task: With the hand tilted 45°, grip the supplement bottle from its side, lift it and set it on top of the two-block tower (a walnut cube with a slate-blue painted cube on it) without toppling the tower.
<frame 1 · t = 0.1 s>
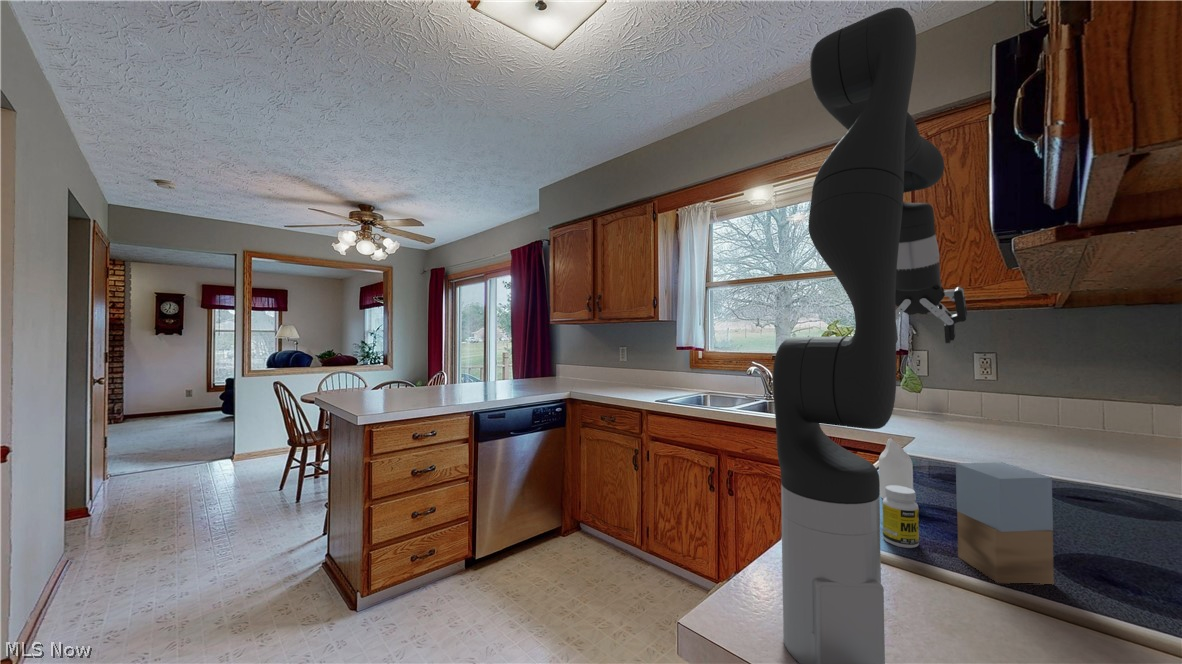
hand: (920, 341, 88), 31 cm above the countertop, tool tilted 20°, fingers open, 8 cm apart
white bottle: (895, 499, 90), on the countertop
walnut block: (1003, 569, 63), on the countertop, touching slate block
supplement bottle: (900, 543, 71), on the countertop
slate block: (1002, 520, 63), point 7 cm above the countertop, touching walnut block
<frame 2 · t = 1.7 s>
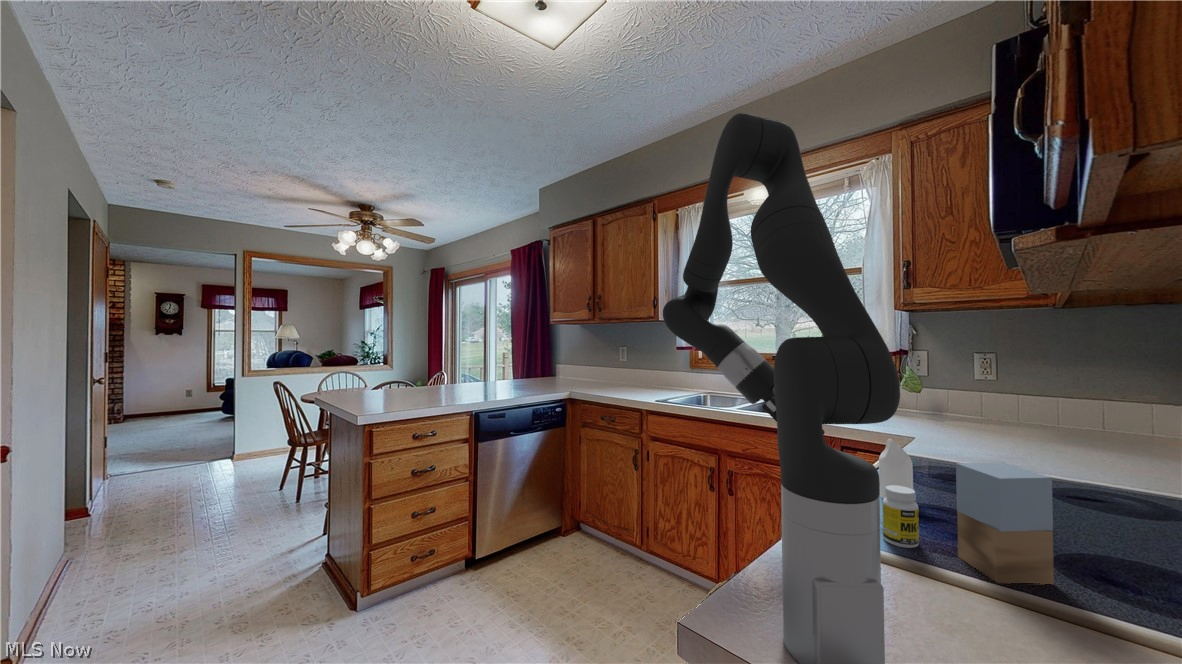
hand: (819, 441, 77), 15 cm above the countertop, tool tilted 45°, fingers open, 8 cm apart
nothing on the countertop moved.
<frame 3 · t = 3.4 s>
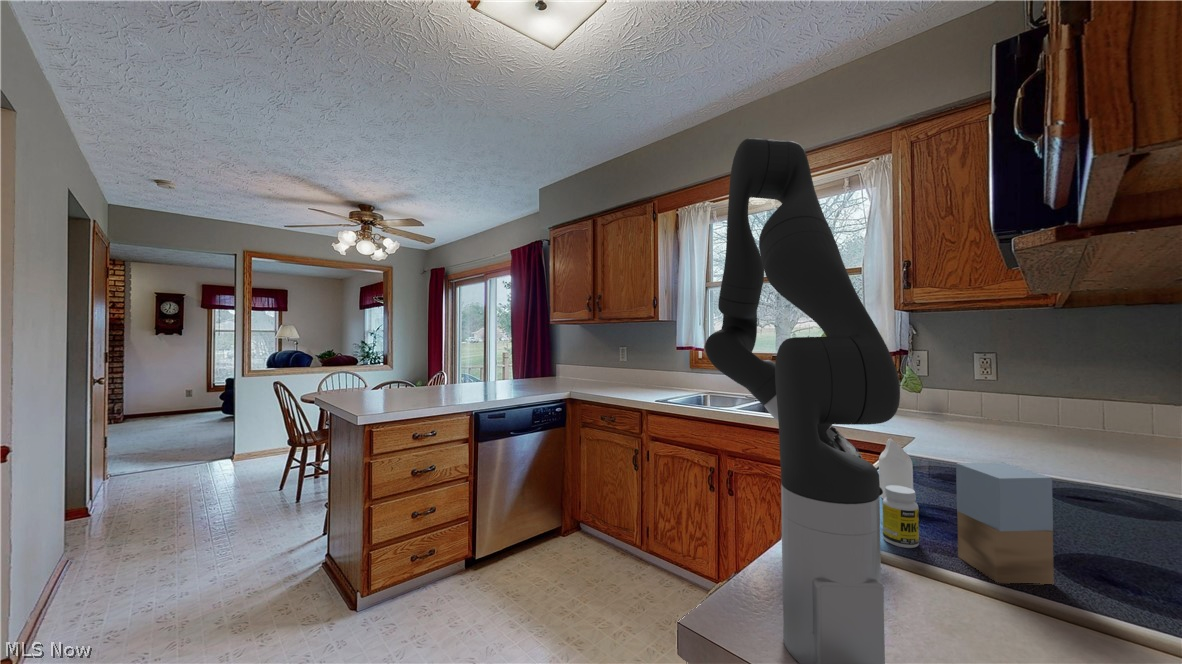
hand: (876, 487, 73), 8 cm above the countertop, tool tilted 45°, fingers open, 8 cm apart
nothing on the countertop moved.
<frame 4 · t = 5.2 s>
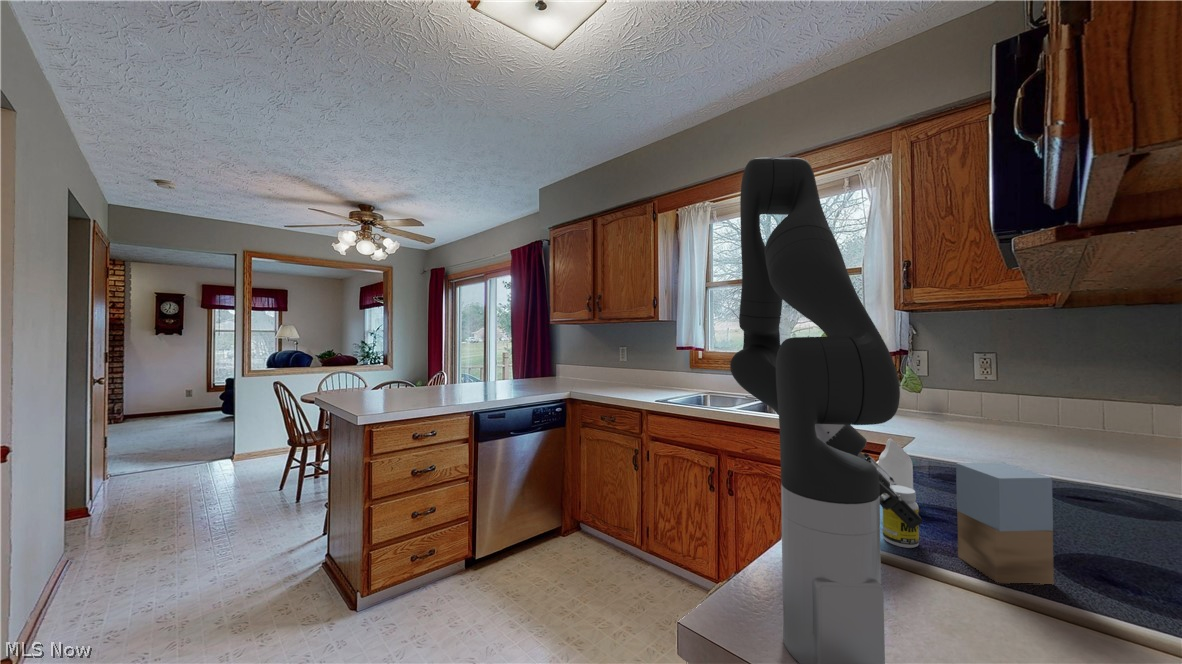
hand: (914, 517, 71), 4 cm above the countertop, tool tilted 45°, fingers closed on supplement bottle, 4 cm apart
supplement bottle: (900, 542, 71), on the countertop, touching gripper
everything else where it was.
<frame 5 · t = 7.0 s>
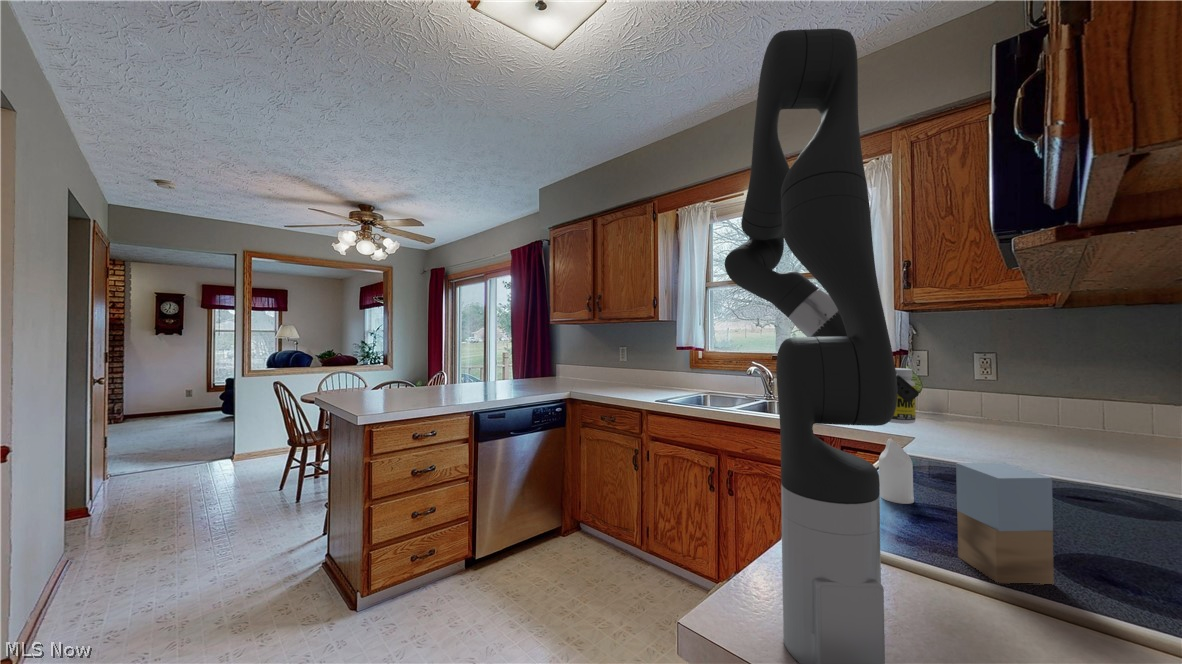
hand: (911, 395, 71), 23 cm above the countertop, tool tilted 45°, fingers closed on supplement bottle, 4 cm apart
supplement bottle: (897, 422, 71), point 19 cm above the countertop, touching gripper
everything else where it was.
when the fingers open (19 cm above the countertop, at t = 9.3 s): supplement bottle drops 1 cm, resting on slate block.
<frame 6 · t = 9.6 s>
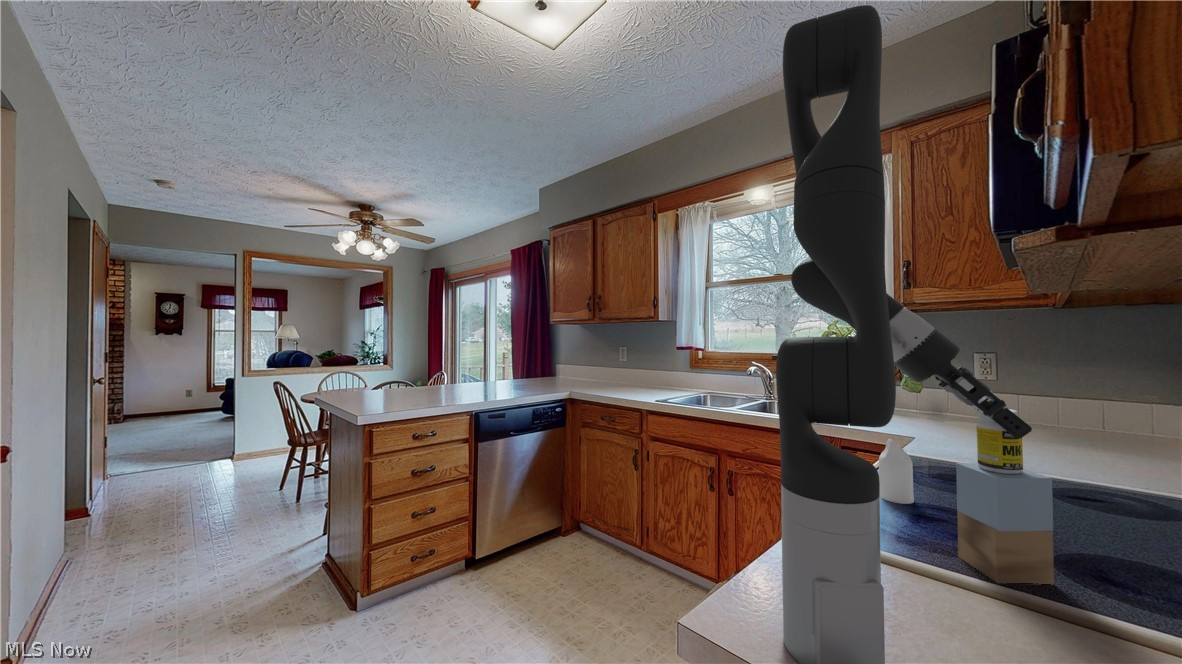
hand: (1015, 428, 62), 20 cm above the countertop, tool tilted 45°, fingers open, 6 cm apart
supplement bottle: (1000, 471, 63), point 14 cm above the countertop, touching slate block
slate block: (1002, 520, 63), point 7 cm above the countertop, touching supplement bottle, walnut block
everything else where it was.
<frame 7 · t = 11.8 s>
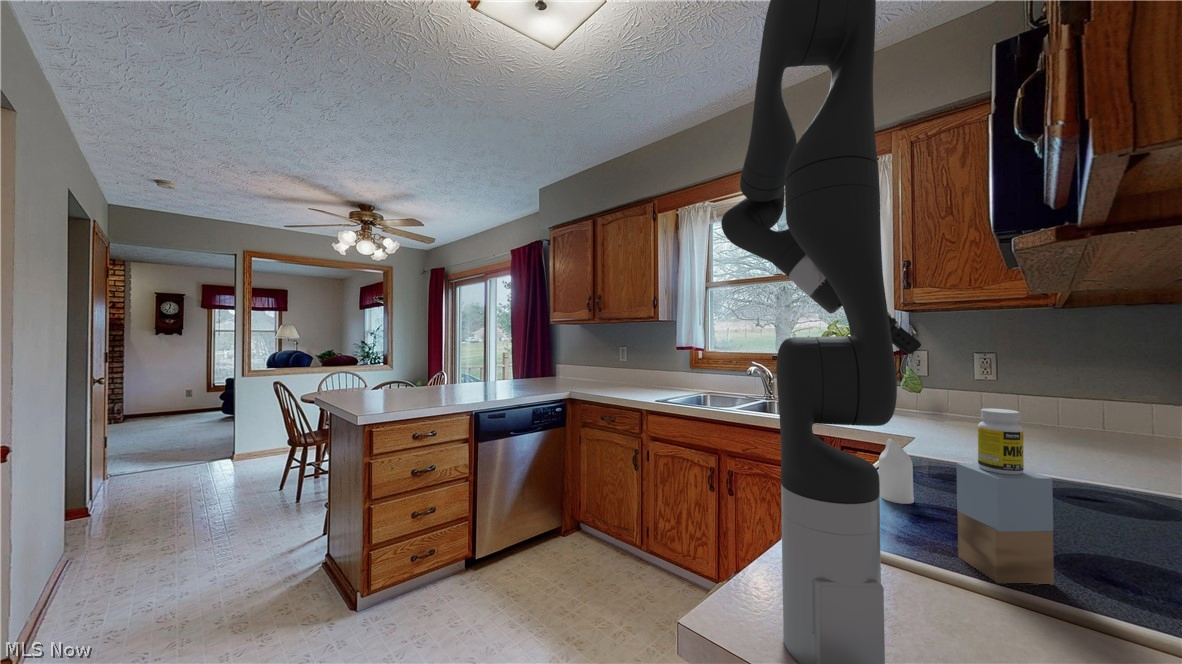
hand: (912, 348, 68), 31 cm above the countertop, tool tilted 45°, fingers open, 8 cm apart
nothing on the countertop moved.
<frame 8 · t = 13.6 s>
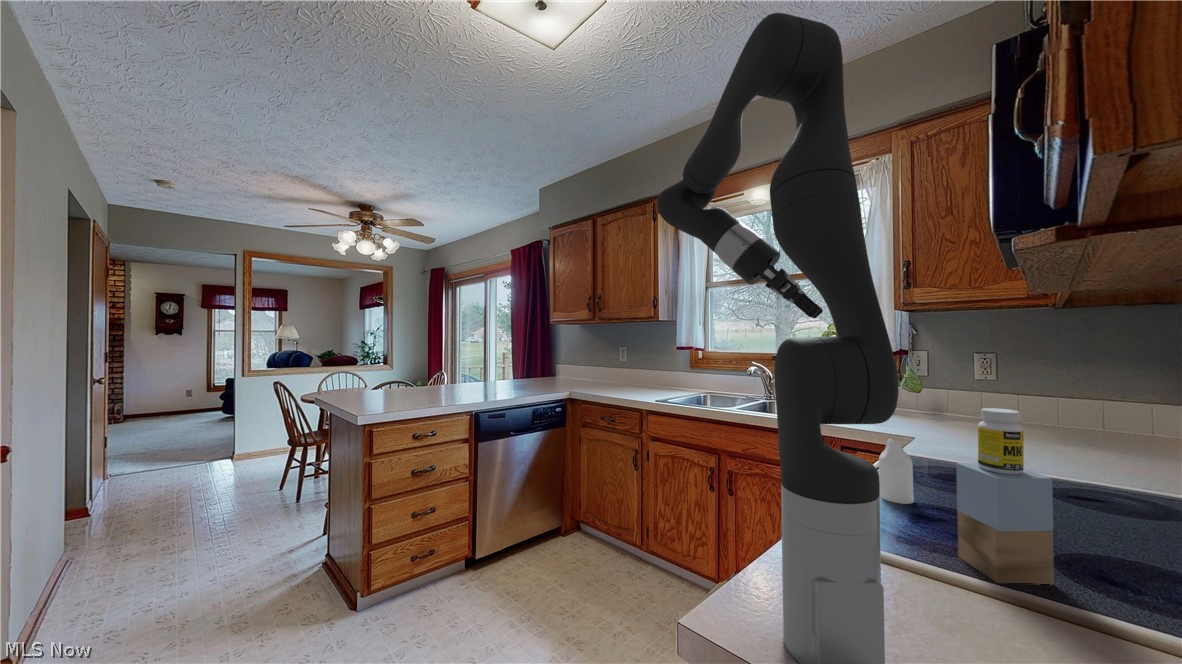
hand: (817, 314, 76), 37 cm above the countertop, tool tilted 45°, fingers open, 8 cm apart
nothing on the countertop moved.
at the end: supplement bottle 0.1 cm from the slate block (horizontally); supplement bottle point 13.7 cm above the countertop; slate block tilted 0° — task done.
